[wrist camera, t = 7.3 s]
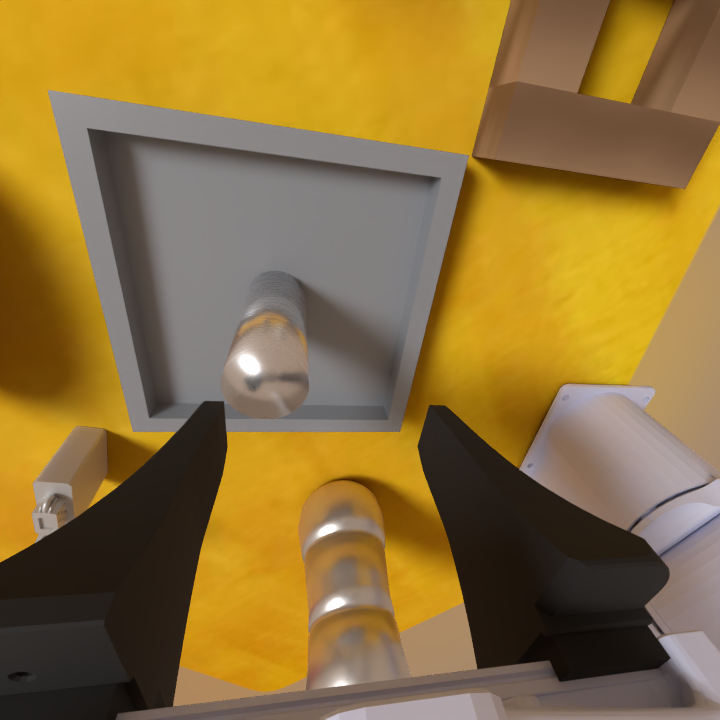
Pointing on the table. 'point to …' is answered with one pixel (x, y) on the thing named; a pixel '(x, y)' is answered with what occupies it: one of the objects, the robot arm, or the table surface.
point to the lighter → (70, 479)
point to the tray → (256, 254)
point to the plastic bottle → (348, 589)
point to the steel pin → (269, 350)
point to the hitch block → (597, 115)
